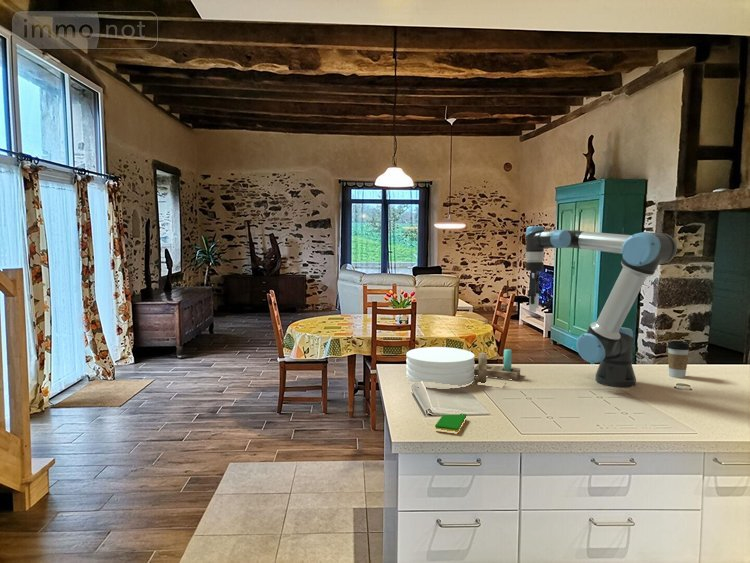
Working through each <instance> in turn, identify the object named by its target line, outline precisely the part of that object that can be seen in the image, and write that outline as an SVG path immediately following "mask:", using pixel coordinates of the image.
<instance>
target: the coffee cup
mask: <svg viewBox="0 0 750 563" xmlns="http://www.w3.org/2000/svg"><path fill="white" fill-rule="evenodd" d="M690 350H691V347H690V344H689V342H686V341H679V340H670V341H668V344H667V360H668V361H667V362H668V375H669V377H671V378H675V379H685V378H686V373H687V368H688V362H689V351H690Z"/></svg>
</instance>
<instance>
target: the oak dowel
mask: <svg viewBox="0 0 750 563" xmlns="http://www.w3.org/2000/svg"><path fill="white" fill-rule="evenodd" d="M487 359H488V353H487V352H479V353H478V364H479V373H478V378H477V380H478V381H477V382H481V383H485V382H486V380H487V378H486V376H487V365H488V360H487Z"/></svg>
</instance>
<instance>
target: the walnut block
mask: <svg viewBox="0 0 750 563" xmlns="http://www.w3.org/2000/svg"><path fill="white" fill-rule="evenodd" d="M474 368H475V369H474V375H478V373H479V363H478V364H477V365H476V366H474ZM519 375H520V376H521V368H520V367H512V366H511V371H504V365H502V366H501V365H494V364H493V365H492V364H487V376H488V377H497V378H503V379H512V380H518V379H519V378H520V376H519ZM518 377H519V378H518ZM517 378H518V379H517ZM503 379H502V380H503ZM512 380H511V381H512Z"/></svg>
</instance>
